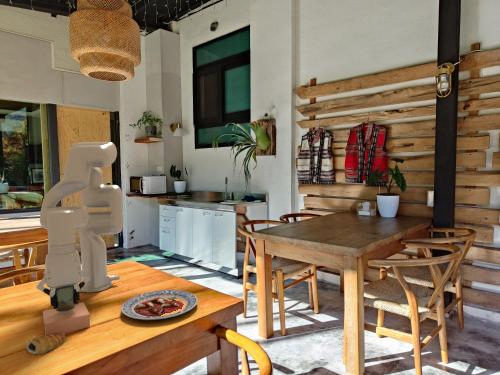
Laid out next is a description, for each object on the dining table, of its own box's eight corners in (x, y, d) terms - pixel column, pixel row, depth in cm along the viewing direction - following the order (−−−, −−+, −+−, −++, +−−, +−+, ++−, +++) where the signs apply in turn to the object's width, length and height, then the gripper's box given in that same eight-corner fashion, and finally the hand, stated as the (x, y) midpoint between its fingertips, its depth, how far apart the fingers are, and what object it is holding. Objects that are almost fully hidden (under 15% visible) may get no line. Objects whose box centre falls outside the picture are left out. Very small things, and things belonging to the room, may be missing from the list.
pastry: (56, 337, 105) (56, 324, 104) (71, 342, 101) (70, 329, 101) (23, 352, 96) (23, 338, 96) (38, 358, 93) (37, 344, 93)
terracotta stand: (84, 313, 120) (83, 302, 120) (90, 326, 110) (89, 314, 110) (43, 322, 114) (42, 310, 114) (45, 337, 104) (45, 324, 104)
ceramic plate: (147, 333, 106) (147, 323, 105) (107, 310, 123) (107, 302, 123) (212, 307, 125) (212, 298, 124) (170, 290, 142) (169, 283, 142)
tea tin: (74, 303, 116) (73, 282, 115) (76, 308, 111) (75, 287, 111) (55, 307, 113) (53, 285, 112) (56, 313, 108) (55, 290, 108)
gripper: (90, 243, 119) (92, 296, 120) (29, 250, 109) (33, 308, 110) (93, 247, 112) (96, 303, 113) (30, 255, 103) (34, 316, 104)
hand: (65, 304), depth 112 cm, fingers closed on tea tin, 5 cm apart
